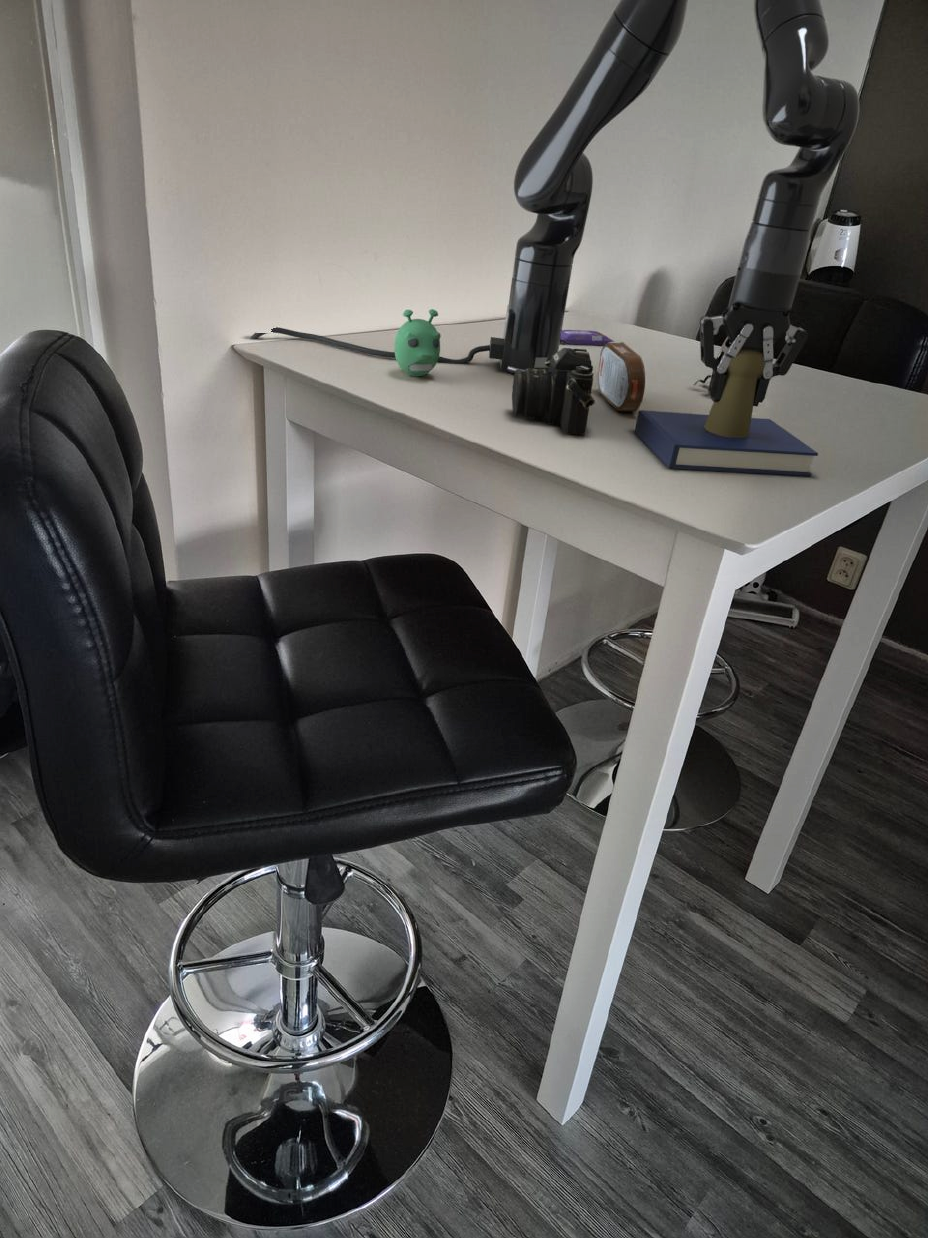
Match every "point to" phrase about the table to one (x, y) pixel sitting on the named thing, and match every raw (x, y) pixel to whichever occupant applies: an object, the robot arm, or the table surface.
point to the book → (722, 445)
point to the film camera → (557, 391)
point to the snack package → (584, 337)
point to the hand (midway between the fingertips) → (733, 401)
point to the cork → (736, 396)
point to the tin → (621, 377)
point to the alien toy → (417, 345)
